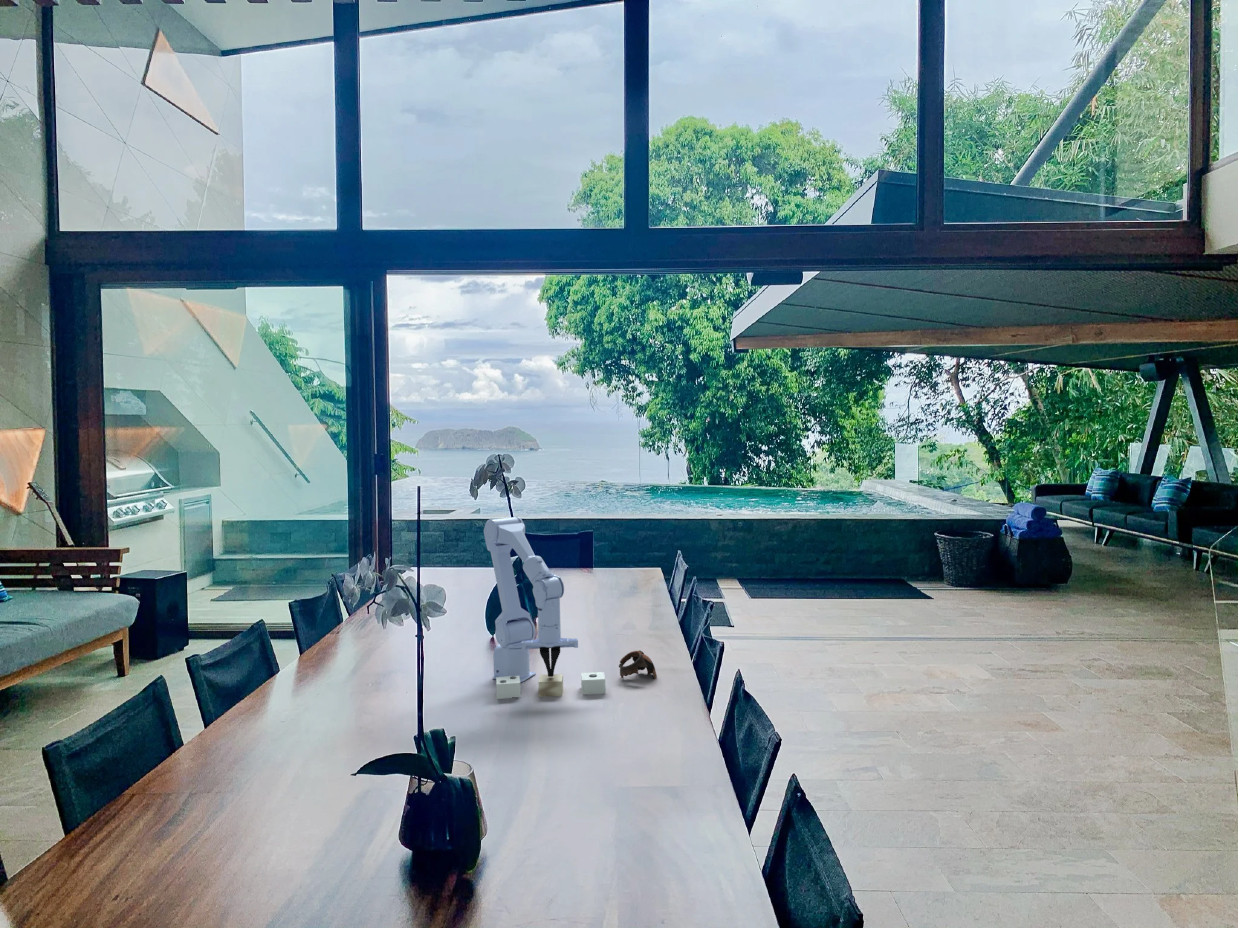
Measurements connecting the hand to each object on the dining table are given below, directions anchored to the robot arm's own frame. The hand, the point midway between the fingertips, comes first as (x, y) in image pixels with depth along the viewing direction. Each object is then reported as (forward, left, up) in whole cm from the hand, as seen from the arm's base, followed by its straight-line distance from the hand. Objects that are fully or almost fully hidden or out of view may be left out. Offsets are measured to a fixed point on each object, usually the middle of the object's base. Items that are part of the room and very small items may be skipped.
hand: (550, 675), depth 221 cm
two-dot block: (-10, -5, -5) cm, 12 cm away
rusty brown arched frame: (+16, +20, -5) cm, 26 cm away
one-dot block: (+10, +5, -5) cm, 12 cm away
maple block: (0, 0, -5) cm, 5 cm away
